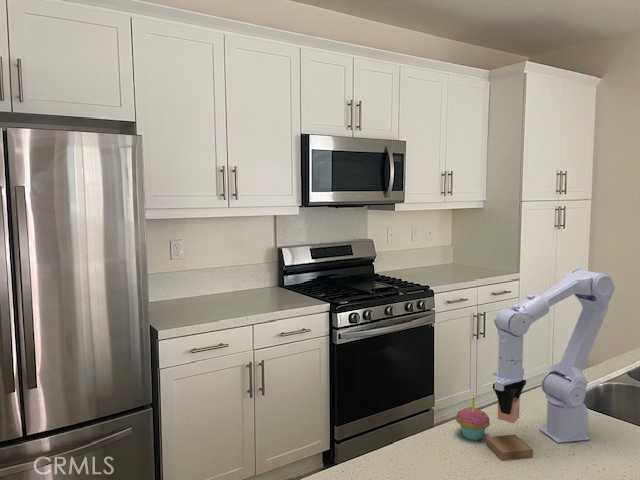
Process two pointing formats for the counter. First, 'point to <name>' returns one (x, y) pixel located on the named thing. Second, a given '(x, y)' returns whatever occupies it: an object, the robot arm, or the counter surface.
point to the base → (509, 447)
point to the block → (513, 414)
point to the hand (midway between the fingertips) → (508, 410)
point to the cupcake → (473, 421)
